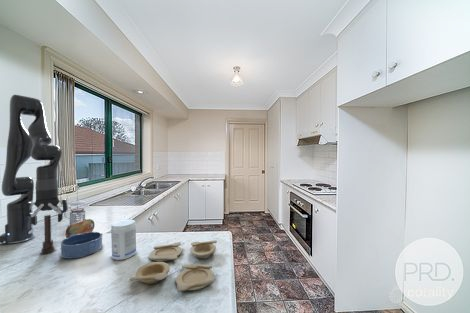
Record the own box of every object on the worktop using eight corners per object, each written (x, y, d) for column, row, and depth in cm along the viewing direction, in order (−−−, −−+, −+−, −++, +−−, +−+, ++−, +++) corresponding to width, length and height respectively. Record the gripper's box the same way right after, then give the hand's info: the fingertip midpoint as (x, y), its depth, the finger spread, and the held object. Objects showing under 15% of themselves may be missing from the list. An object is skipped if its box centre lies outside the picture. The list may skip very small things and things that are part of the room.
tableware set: (156, 246, 98) (156, 238, 98) (217, 245, 99) (217, 236, 99) (119, 298, 63) (119, 285, 63) (213, 294, 64) (213, 281, 64)
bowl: (56, 262, 83) (56, 248, 83) (65, 248, 97) (65, 235, 97) (100, 254, 91) (100, 240, 91) (103, 241, 104) (103, 229, 104)
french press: (90, 223, 130) (89, 185, 130) (67, 229, 121) (67, 188, 120) (83, 221, 136) (82, 184, 135) (61, 226, 126) (61, 186, 126)
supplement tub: (136, 248, 96) (136, 217, 96) (136, 257, 87) (135, 224, 87) (112, 252, 92) (112, 220, 92) (110, 262, 83) (109, 227, 83)
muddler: (39, 255, 90) (39, 217, 90) (43, 250, 94) (42, 214, 94) (52, 252, 92) (52, 215, 92) (55, 248, 96) (55, 213, 96)
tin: (69, 242, 102) (68, 226, 102) (64, 242, 103) (63, 225, 103) (95, 231, 117) (94, 217, 117) (90, 231, 118) (90, 216, 118)
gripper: (68, 185, 99) (69, 218, 100) (29, 188, 93) (29, 223, 93) (64, 188, 93) (65, 223, 93) (22, 190, 86) (22, 228, 86)
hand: (47, 223), depth 93 cm, fingers open, 8 cm apart
